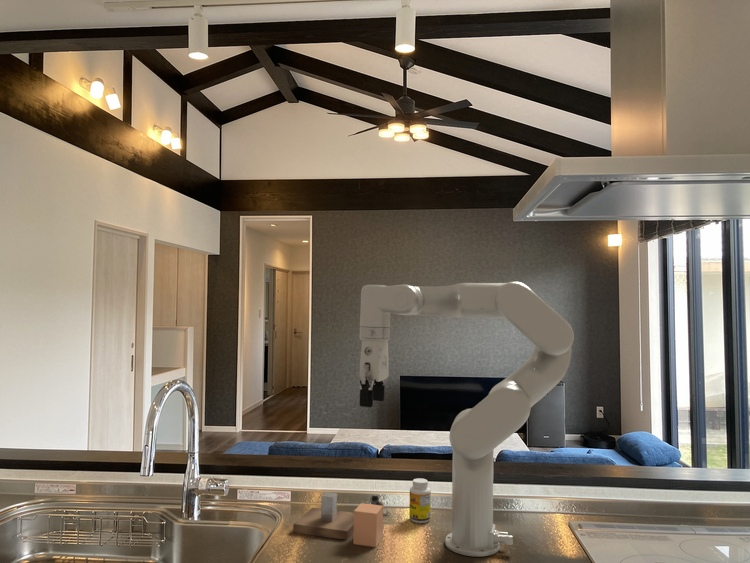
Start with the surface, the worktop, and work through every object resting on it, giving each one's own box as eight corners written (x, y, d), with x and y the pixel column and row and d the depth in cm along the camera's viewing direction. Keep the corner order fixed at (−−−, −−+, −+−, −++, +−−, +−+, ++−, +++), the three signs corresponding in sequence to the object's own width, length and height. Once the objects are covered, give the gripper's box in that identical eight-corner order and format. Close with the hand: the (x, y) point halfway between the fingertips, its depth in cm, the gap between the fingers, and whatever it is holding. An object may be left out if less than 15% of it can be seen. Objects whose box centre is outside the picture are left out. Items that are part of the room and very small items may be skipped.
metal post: (336, 517, 141) (336, 493, 141) (332, 521, 138) (332, 497, 138) (325, 515, 142) (325, 492, 142) (321, 520, 139) (321, 495, 139)
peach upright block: (382, 537, 133) (383, 505, 134) (376, 547, 128) (376, 513, 128) (360, 534, 135) (361, 503, 135) (353, 543, 130) (353, 510, 130)
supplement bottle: (406, 517, 147) (406, 478, 148) (425, 515, 149) (426, 476, 149) (413, 525, 142) (414, 484, 142) (433, 522, 143) (434, 482, 144)
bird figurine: (381, 522, 143) (380, 498, 144) (363, 519, 146) (362, 496, 147) (391, 515, 148) (390, 492, 149) (374, 513, 151) (372, 490, 151)
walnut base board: (362, 521, 143) (362, 513, 144) (347, 539, 132) (347, 531, 132) (312, 515, 147) (312, 507, 147) (293, 532, 136) (293, 523, 136)
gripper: (379, 336, 128) (376, 410, 127) (398, 333, 145) (395, 399, 144) (348, 334, 131) (346, 407, 130) (370, 332, 147) (368, 397, 146)
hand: (372, 403), depth 137 cm, fingers open, 9 cm apart
